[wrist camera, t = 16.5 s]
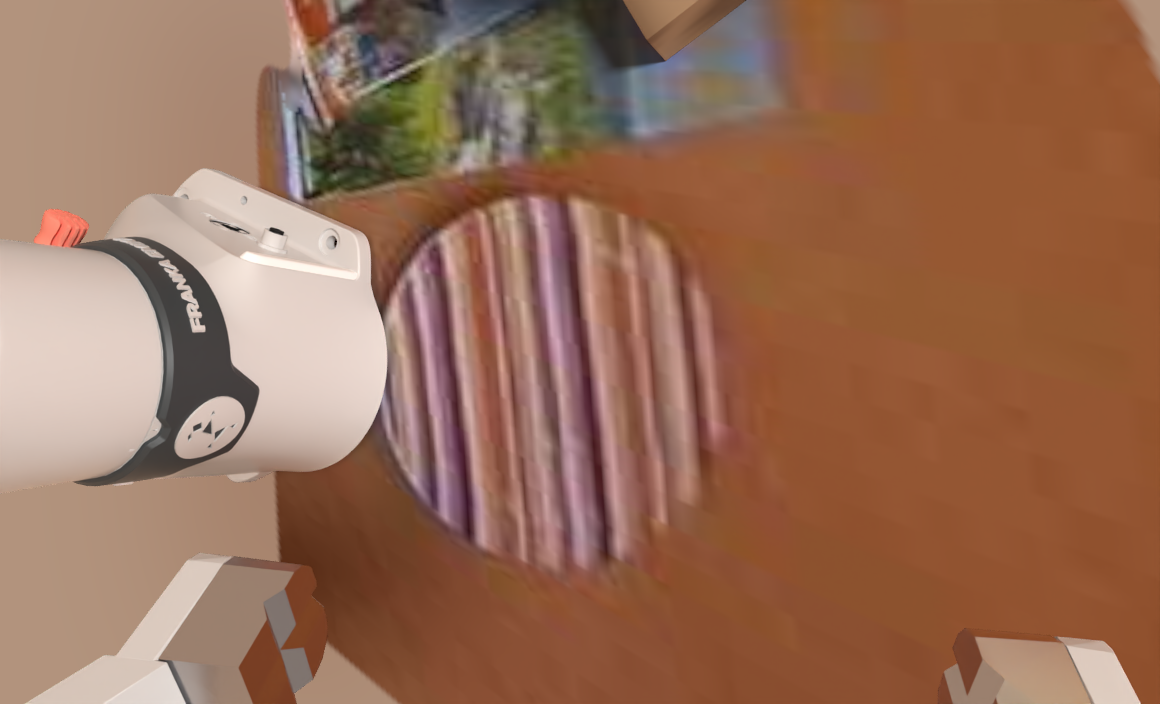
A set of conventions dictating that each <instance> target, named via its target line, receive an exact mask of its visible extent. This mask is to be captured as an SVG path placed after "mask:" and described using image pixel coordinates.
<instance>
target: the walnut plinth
mask: <svg viewBox="0 0 1160 704" xmlns="http://www.w3.org/2000/svg"><path fill="white" fill-rule="evenodd" d="M623 1H624V3H625V5H626V6H627V8H628V10H629V11H630V13H631V15H632V16H633V18H634V20H635V21H636V23H637V25H638V26H639V28H640V30H641V31H642V33H643V35H644V36H645V38H646V40H647V41H648V42H649V43H650V44H651V45H652V46H653V48H654V49H655V50H656V51H657V52H658V53H659V54H660V55H661V56H662V57H663V59H664V60H665V61H666V60H668V59H669V58H670V57H672V56H673V55H674V54H676V53H677V52H678V51H680V50H681V49H682V48H684V47H685V46H686V45H688V44H689V43H690V42H691V41H693V40H694V39H695V38H697V37H698V36H699V35H701V34H702V33H703V32H705V31H706V30H707V29H709V28H710V27H711V26H713V25H714V24H715V23H717V22H718V21H719V20H721V19H722V18H723V17H725V16H726V15H727V14H729V13H730V12H731V11H733V10H734V9H735V8H737V7H738V6H739V5H740V4H742V3H743V2H744V1H746V0H623Z"/></svg>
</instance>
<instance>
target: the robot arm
mask: <svg viewBox="0 0 1160 704" xmlns="http://www.w3.org/2000/svg"><path fill="white" fill-rule="evenodd" d="M88 228H89V224H88V223H87V222H86V221H85V220H83V219H82V218H80V217H79V216H76V215H73V214H71V213H69V212H66V211H64V212H63V211H62V210H58V209H55V210H54V209H49V210H48V211H47V210H46V211H45V213H44V215H43V219H42V224H41V230H40V232H39V234H38V235H37V236H36V237H35V239H34V243H30V242H21V241H12V240H4V239H0V494H2V493H7V492H13V491H19V490H25V489H30V488H36V487H42V486H48V485H53V484H60V483H66V482H75V483H77V484H82V485H86V486H101V485H109V484H113V485H114V486H116V485H125V484H132V483H133V482H134V481H140V480H147V479H168V478H187V477H204V476H219V475H226V476H227V477H228V478H229V479H230V480H231V481H233V482H251V481H255V480H257V479H260V478H262V477H264V476H266V475H268V474H270V473H272V472H274V471H291V472H309V471H315V470H319V469H323V468H326V467H328V466H330V465H332V464H334V463H336V462H338V461H339V460H341V459H342V458H344V457H345V456H346V455H348V454H349V453H350V452H351V451H352V450H353V449H354V448H355V447H356V446H357V445H358V444H359V442H360V441H361V440H362V439H363V437H364V436H365V434H366V433H367V431H368V430H369V428H370V426H371V425H372V423H373V421H374V419H375V416H376V414H377V412H378V409H379V406H380V403H381V400H382V396H383V392H384V387H385V381H386V373H387V347H386V338H385V332H384V327H383V323H382V320H381V316H380V313H379V310H378V307H377V305H376V302H375V299H374V296H373V292H372V288H371V255H370V247H369V243H368V240H367V238H366V236H365V235H364V234H363V233H362V232H360V231H358V230H356V229H354V228H352V227H349V226H347V225H345V224H342V223H340V222H338V221H335V220H333V219H331V218H328V217H326V216H324V215H321V214H319V213H317V212H314V211H312V210H310V209H307V208H305V207H303V206H300V205H298V204H296V203H294V202H291V201H289V200H287V199H284V198H282V197H280V196H277V195H275V194H273V193H270V192H268V191H266V190H263V189H261V188H259V187H256V186H254V185H252V184H249V183H247V182H245V181H242V180H240V179H238V178H235V177H233V176H230V175H228V174H226V173H223V172H221V171H218V170H213V169H206V168H203V169H200V170H198V171H197V172H195V173H194V174H193V175H192V176H190V177H189V178H188V179H187V180H186V181H185V182H184V183H183V184H182V185H181V186H180V187H179V188H178V190H177V191H176V192H175V194H174V195H173V196H167V195H160V194H147V195H144V196H141V197H139V198H137V199H136V200H134V201H133V202H132V203H130V204H129V205H128V206H127V207H126V208H125V209H124V210H123V211H122V212H121V214H120V215H119V216H118V217H117V219H116V220H115V222H114V223H113V225H112V226H111V228H110V230H109V231H108V233H107V235H106V237H105V238H104V240H99V241H92V242H87V243H81V244H80V242H81V240H82V239H83V238H84V236H85V235H86V233H87V230H88ZM336 239H337V245H336V247H335V246H334V242H335V240H336ZM316 586H317V581H316V579H315V576H314V573H313V570H312V567H311V566H305V565H299V564H291V563H283V562H274V561H267V560H259V559H251V558H242V557H235V556H234V557H233V556H224V555H215V554H206V553H198V554H197V555H195V556H193V557H192V558H191V559H189V560H187V561H186V562H185V564H184V565H183V566H182V568H181V569H180V570H179V572H178V573H177V574H176V576H175V577H174V578H173V580H172V581H171V582H170V584H169V585H168V587H167V588H166V589H165V590H164V592H163V593H162V594H161V596H160V597H159V598H158V600H157V601H156V602H155V604H154V605H153V606H152V608H151V609H150V611H149V612H148V613H147V615H146V616H145V617H144V619H143V620H142V621H141V623H140V624H139V625H138V627H137V628H136V629H135V631H134V632H133V633H132V635H131V636H130V637H129V639H128V640H127V641H126V643H125V644H124V645H123V647H122V648H121V649H120V651H119V652H118V654H117V655H116V656H112V655H104V656H103V657H101V658H99V659H97V660H96V661H94V662H92V663H91V664H89V665H88V666H86V667H84V668H83V669H81V670H79V671H78V672H76V673H75V674H73V675H71V676H70V677H68V678H66V679H65V680H63V681H62V682H60V683H58V684H56V685H55V686H53V687H51V688H50V689H48V690H47V691H45V692H43V693H42V694H40V695H39V696H37V697H35V698H34V699H32V700H30V701H29V702H27V703H25V704H297V703H296V699H295V694H294V693H296V692H297V691H298V690H299V689H301V688H302V687H304V686H305V685H306V684H307V683H309V682H310V681H311V680H313V678H314V676H315V674H316V672H317V670H318V668H319V665H320V663H321V660H322V658H323V654H324V650H325V645H326V641H327V636H328V635H327V617H326V613H325V609H324V607H323V606H322V605H321V604H320V603H319V602H318V601H317V600H315V599H314V598H313V597H312V596H311V595H312V593H313V591H314V589H315V588H316ZM953 651H954V654H955V657H956V661H957V664H956V665H954V666H952V667H951V668H949V669H947V670H946V671H944V673H943V676H942V679H941V682H940V686H939V689H938V704H1141V703H1140V701H1139V699H1138V697H1137V696H1136V694H1135V692H1134V690H1133V688H1132V686H1131V684H1130V682H1129V680H1128V678H1127V676H1126V674H1125V673H1124V671H1123V669H1122V667H1121V665H1120V663H1119V661H1118V659H1117V657H1116V655H1115V653H1114V652H1113V650H1112V649H1111V648H1110V647H1109V646H1108V645H1107V644H1106V643H1105V642H1104V641H1097V640H1087V639H1076V638H1066V637H1052V636H1051V635H1042V634H1030V633H1018V632H1007V631H995V630H983V629H971V628H964V629H963V630H962V631H961V632H960V633H958V635H957V638H956V640H955V643H954V645H953Z"/></svg>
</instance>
